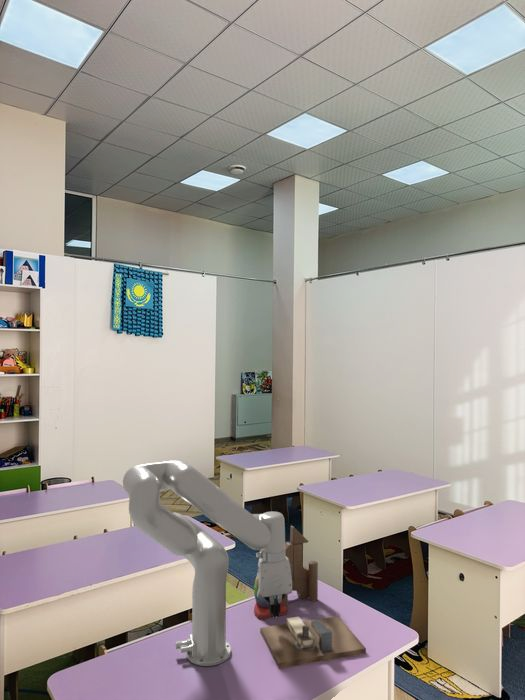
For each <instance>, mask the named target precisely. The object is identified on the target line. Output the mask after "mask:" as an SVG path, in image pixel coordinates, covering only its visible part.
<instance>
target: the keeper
mask: <svg viewBox="0 0 525 700" xmlns="http://www.w3.org/2000/svg"><path fill="white" fill-rule="evenodd" d="M314 620H315V619H314ZM311 626H312V627H313V629H314V630H315V632H316V633H317V634H318V636H319V650H320V651H321V653H328V652H332V631H331V630H330V629H329V628H328V629H327V628H326V626H325V625H324V624H323V622H322V621H321V620H315V621H311Z"/></svg>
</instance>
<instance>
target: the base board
mask: <svg viewBox="0 0 525 700" xmlns="http://www.w3.org/2000/svg"><path fill="white" fill-rule="evenodd" d="M315 620H321V621H322V622H323V624H324V625H325V626H326V628H327V629H328V628H329V629H330V630H331V631H332V652H328V653H321V651H320V650H319V636H318V634H317V633H316V632H315V630H314V629H313V627H312V626H311V621H315ZM302 622H303V623H304V624H305V626H308V627H309V632H310V633H312V634H313V635H314V639H315V646H313V647H312V648H307V649H306V648H301V647H299V646H298V645H297V640H296V639H295V637H294V636H293V634H292V632H291V631H290V629H289V628H288V626H287V623H282V624H276V625H270V626H262V627H259V629H260V630H259V632H260V636H262V638H263V640H264V643H265V644H266V647H267V649H268V650H269V653H270V654H271V656H272V659H273V660H274V662H275V664H276V666H277V668H278V669H279V670H281V669H286V668H291V667H296V666H303V665H309V664H314V663H320V662H324V661H325V662H326V661H332V660H337V659H342V658H349V657H355V656H360V654H361V655H365V654H367V648H366V647H365V645H364V644H363V643H362V642H361V641H360V639H359V638H358V637H357V636H356V635H355V634H354V632H353V631H352V630H351V629H350V628H349V627H348V626H347V624H346V623H345V622H344V621H343V619H342V618H341V617H340V616H338V615H336V616H335V615H334V616H330V617H324V618H323V617H322V618H316V619H310V620H309V619H308V620H302Z"/></svg>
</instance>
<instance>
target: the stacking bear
mask: <svg viewBox="0 0 525 700" xmlns="http://www.w3.org/2000/svg"><path fill="white" fill-rule="evenodd" d="M259 559H260V558H259V557H258V560H259ZM253 586H254V587H253V590H254V591H253V592H254V599H255V604H254V608H253V613H254V615H255V616H256V617H257V618H258V619H260V620H265V619H268V618H269V617H273V615H272V614H270V609H269V602H268V601H267V600H266V599H258V597H257V592H258V589H257V576H256V577H255V580H254V585H253ZM273 599H275V596H273ZM288 611H289V610H288V607H287V606H285V605H284V604H283V603H282V602H281V603H280V612H279V616H284V615H286V614H288Z"/></svg>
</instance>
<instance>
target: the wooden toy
mask: <svg viewBox="0 0 525 700" xmlns="http://www.w3.org/2000/svg"><path fill="white" fill-rule="evenodd" d="M289 534H290V535H289V538H290V539H289V541H285V553H286V557H287V558H288V559H289V564H290V569H291V577H292V592H293V591H295V592H296V595H297V596H298V597H299V598H300V599H306V598H308V600H309V601H310V602H315V601H317V600H318V598H319V597H318V590H319V589H318V588H319V587H318V586H319V585H318V584H319V581H318V580H319V578H318V577H319V576H318V575H319V572H318V571H319V570H318V567H319V566H318V565H319V564H318V562H317V561H316V560H310V561H309V562H308V567H306V566H304V565H303V564H302V559H303V558H302V553H303V551H302V550H303V549H302V548H303V547H302V546H303V544H307V543H309V540H308V539H307V537H305V536H303V534H302V533H301V532H299V530H297V528H295V526H293V525H290V533H289ZM288 595H289V594H288ZM288 595H285V597H284V598H283V599H282V603H283V604H284V605H285V606H286V607H288V602H289V601H288V600H289V599H288Z"/></svg>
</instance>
